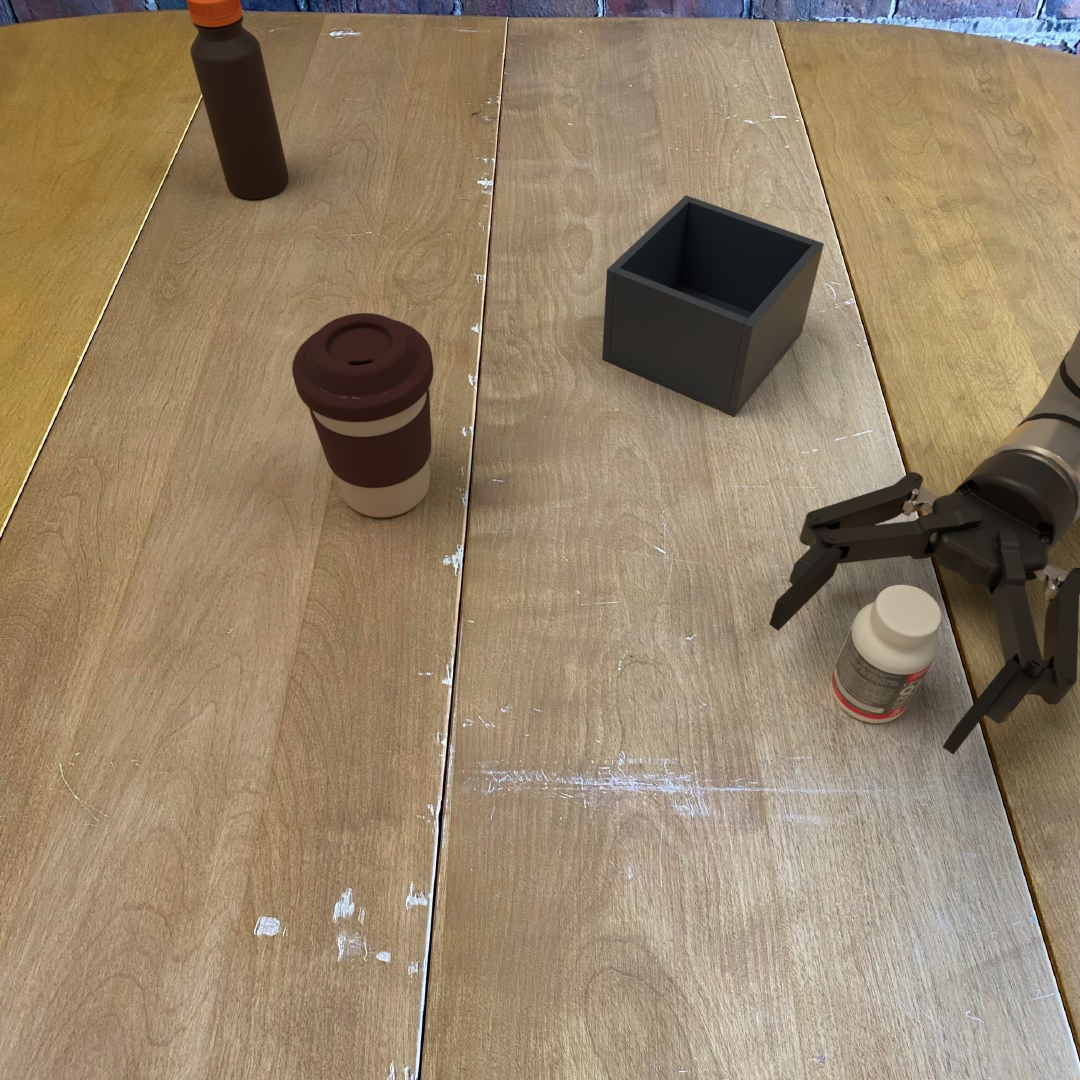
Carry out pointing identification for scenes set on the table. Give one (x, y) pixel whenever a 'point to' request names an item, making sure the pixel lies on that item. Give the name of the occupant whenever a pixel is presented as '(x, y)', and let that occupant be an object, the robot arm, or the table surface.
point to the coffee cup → (370, 409)
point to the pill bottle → (887, 654)
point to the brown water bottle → (237, 99)
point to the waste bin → (708, 302)
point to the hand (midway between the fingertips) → (861, 675)
